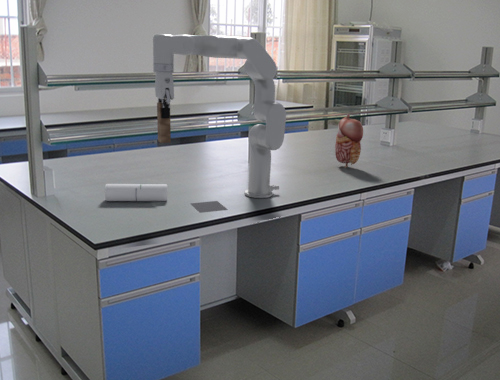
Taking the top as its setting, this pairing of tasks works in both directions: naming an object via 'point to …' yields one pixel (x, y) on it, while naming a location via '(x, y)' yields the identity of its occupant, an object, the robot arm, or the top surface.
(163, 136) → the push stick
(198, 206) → the mat
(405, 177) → the top surface
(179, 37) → the robot arm
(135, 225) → the top surface
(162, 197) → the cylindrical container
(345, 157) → the anatomical model
